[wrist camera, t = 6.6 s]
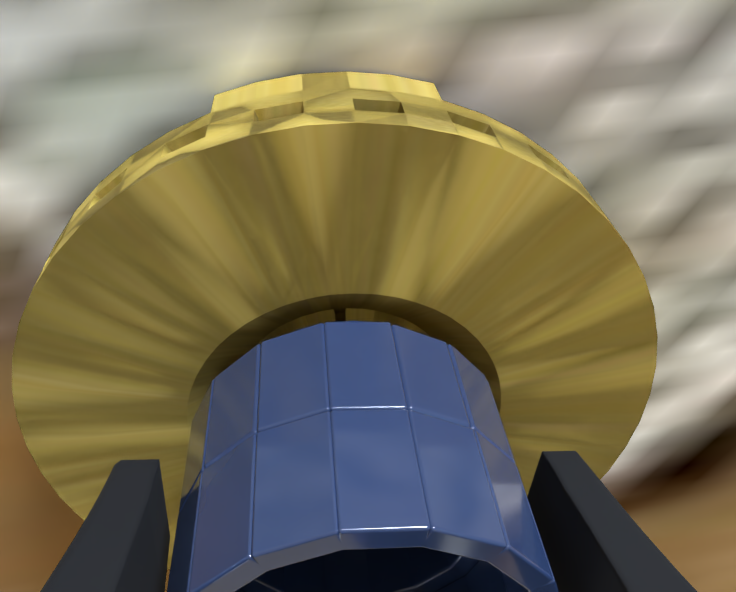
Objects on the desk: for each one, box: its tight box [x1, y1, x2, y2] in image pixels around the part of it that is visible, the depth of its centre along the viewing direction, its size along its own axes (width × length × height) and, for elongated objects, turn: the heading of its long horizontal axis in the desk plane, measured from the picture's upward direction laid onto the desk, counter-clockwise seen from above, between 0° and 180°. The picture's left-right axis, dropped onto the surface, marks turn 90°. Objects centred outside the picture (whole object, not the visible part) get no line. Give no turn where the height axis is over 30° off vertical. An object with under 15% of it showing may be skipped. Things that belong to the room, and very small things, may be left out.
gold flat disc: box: [12, 72, 657, 570], centre depth 14 cm, size 12×12×2 cm
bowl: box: [167, 321, 559, 592], centre depth 12 cm, size 6×6×4 cm
